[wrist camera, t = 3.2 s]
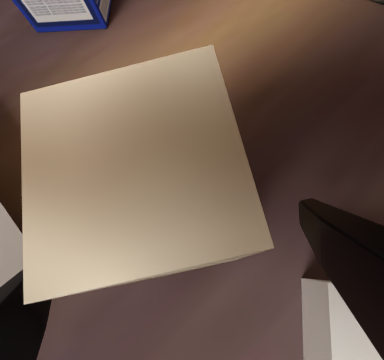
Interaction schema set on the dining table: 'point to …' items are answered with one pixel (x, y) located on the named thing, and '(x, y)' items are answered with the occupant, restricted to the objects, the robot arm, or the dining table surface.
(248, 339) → the dining table surface
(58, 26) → the milk carton
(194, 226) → the birch block
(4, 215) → the pizza boxes
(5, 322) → the robot arm
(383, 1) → the jar
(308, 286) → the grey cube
